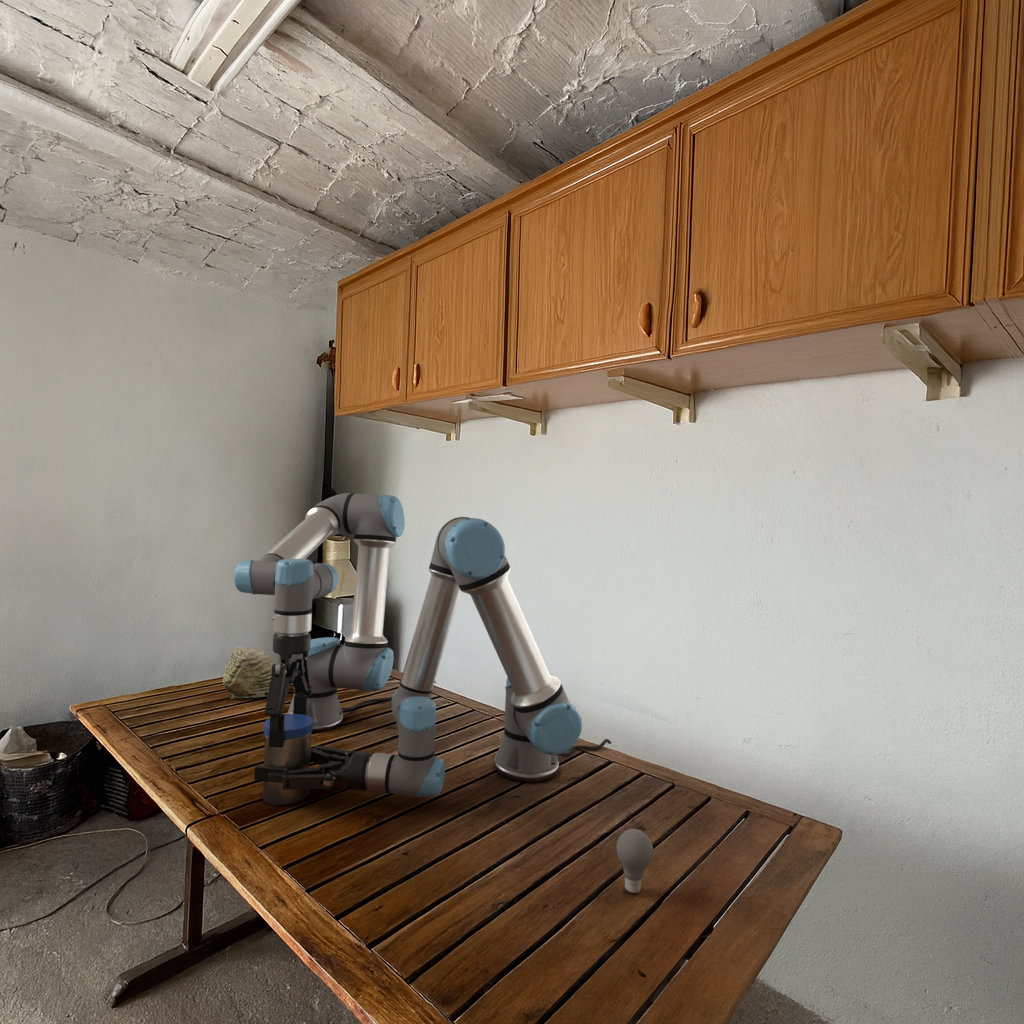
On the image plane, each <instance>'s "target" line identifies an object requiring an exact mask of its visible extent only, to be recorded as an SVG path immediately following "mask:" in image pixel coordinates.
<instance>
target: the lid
mask: <svg viewBox="0 0 1024 1024" xmlns="http://www.w3.org/2000/svg"><path fill="white" fill-rule="evenodd" d="M313 723H314V720H313V718H312V717H310V716H307V715H303V714H287V713H286V714H285V721H284V739H286V738H295V737H300V736H303V735H306V734H308V733H310V732H311V731H312V730H313ZM269 730H270V717H269V718H268V719H266V720H265V721H264V722H263V734H264V736H265V735H266V736H269Z"/></svg>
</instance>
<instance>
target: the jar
mask: <svg viewBox="0 0 1024 1024" xmlns="http://www.w3.org/2000/svg"><path fill="white" fill-rule="evenodd" d="M312 735H313V732H312V731H311V732H310V733H308V734H306V735H303V736H300V737H295V738H286V739H284V746H283V747H282V748H280V747H269V736H266V735H265V734H264V748H263V749H264V753H263V754H264V755H263V766H266V767H277V768H286V767H287V771H290V770H299V769H308V768H311V764H310V760H311V748H312ZM309 795H310V789H288V790H284V789H283V783H279V782H267V781H262V800H263V802H265V803H267V804H270V805H273V806H287V805H293V804H296V803H299V802H301V801H303V800H305V799H306V798H308V796H309Z"/></svg>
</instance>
